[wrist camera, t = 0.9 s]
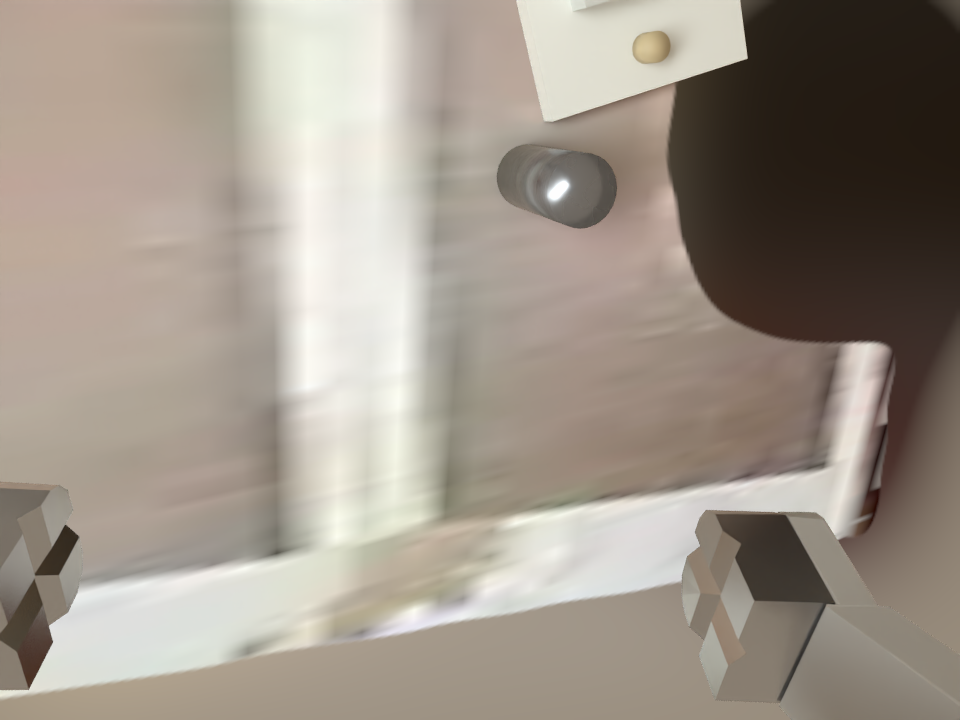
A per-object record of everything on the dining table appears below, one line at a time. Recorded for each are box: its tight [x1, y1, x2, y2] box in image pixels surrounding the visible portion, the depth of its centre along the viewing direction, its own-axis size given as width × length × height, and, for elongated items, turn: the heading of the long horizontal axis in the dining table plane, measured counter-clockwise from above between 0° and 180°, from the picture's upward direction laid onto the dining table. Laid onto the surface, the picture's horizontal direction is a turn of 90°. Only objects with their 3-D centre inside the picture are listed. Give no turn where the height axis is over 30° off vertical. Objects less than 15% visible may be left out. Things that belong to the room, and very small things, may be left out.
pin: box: [497, 145, 617, 228], centre depth 46 cm, size 4×4×9 cm
